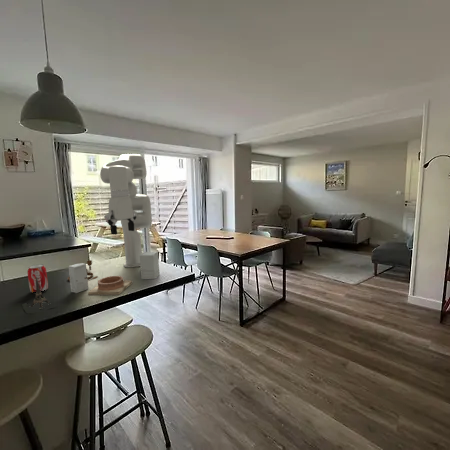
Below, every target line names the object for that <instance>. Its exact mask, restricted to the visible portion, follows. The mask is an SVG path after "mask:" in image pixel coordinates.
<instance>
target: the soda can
mask: <svg viewBox="0 0 450 450" xmlns="http://www.w3.org/2000/svg"><path fill="white" fill-rule="evenodd" d="M36 277H37V278H38V284H39V288H40V291H44V290H45V291H47V290H49V281H48V273H47V269H46V266H45V264H42V263H38V264H33V265H30V266H29V265H28V270H27V280H28V286H29V287H28V288H29V290H30V293H33V292H36ZM45 291H44V292H45Z"/></svg>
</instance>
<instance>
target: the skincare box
mask: <svg viewBox="0 0 450 450" xmlns="http://www.w3.org/2000/svg"><path fill="white" fill-rule="evenodd" d="M87 270H88V268H87V263H85V262H84V263H83V262H80V263H75V264H72V265H68V275H69V276H70V281H69V283H70V285H69V286H70V291H71V293H74V294H78V293H80V292H83V291H85V290H89V279H87V277H88V275H87ZM69 276H68V277H69Z"/></svg>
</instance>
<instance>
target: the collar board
mask: <svg viewBox="0 0 450 450" xmlns="http://www.w3.org/2000/svg"><path fill="white" fill-rule="evenodd" d="M132 284H133V280H124V277H123V276H121V275H110V276H106V277H103V278H100V279H98V280H97V285H96V286H95V287H93V288H92V289H90V290H89V291H88V292H87V295H92V296H93V295H95V296H97V295H100V296H101V295H105V296H106V295H109V296H111V295H112V296H115V295H118V296H119V295H120V294H122V293H123V292H124V291H125V290H126V289H127V288H128V287H129V286H131V285H132Z"/></svg>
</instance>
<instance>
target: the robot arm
mask: <svg viewBox="0 0 450 450" xmlns="http://www.w3.org/2000/svg"><path fill="white" fill-rule="evenodd" d="M99 174H100V175H99V176H100V180H101V181H102V182H103V183H104V184H109V189H110V197H109V199H108V213H106V214H105V215H104V216H103V218H104V220H105V222H106V223H107V224H108V225H109V227H110V234H111V235H118V226H117V225H116V224H117V222H118V221H120V224H121V227H122V234H123V244H124V255H125V262H124V263H122V266H123V267H125V268H138V267H141V266H140V255H141V254H143V251H142V240H141V239H142V238H141V237H142V236H141V234H140V233H139V232H138V231H139V229H146V228H147V229H148V228H151V227H152V224H153V223H152V222H153V219H152V204H151V198H150V197H149V195H147V194H138V188H137V186H136V184H135V183H134V182H133V180H143V179H146V177H147V166H146V161H145V159H144V157H143V155H141V154H139V153H138V154H137V153H132V154H131V153H130V154H129V153H127V154H126V153H125V154H120V155H119V156H117V158H116V160H113V161H110V162H106V163H105V164H104V163H103V165H102V166H101V168H100V173H99ZM137 211H139V212H137ZM141 211H142V212H141ZM137 229H138V230H137Z"/></svg>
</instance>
